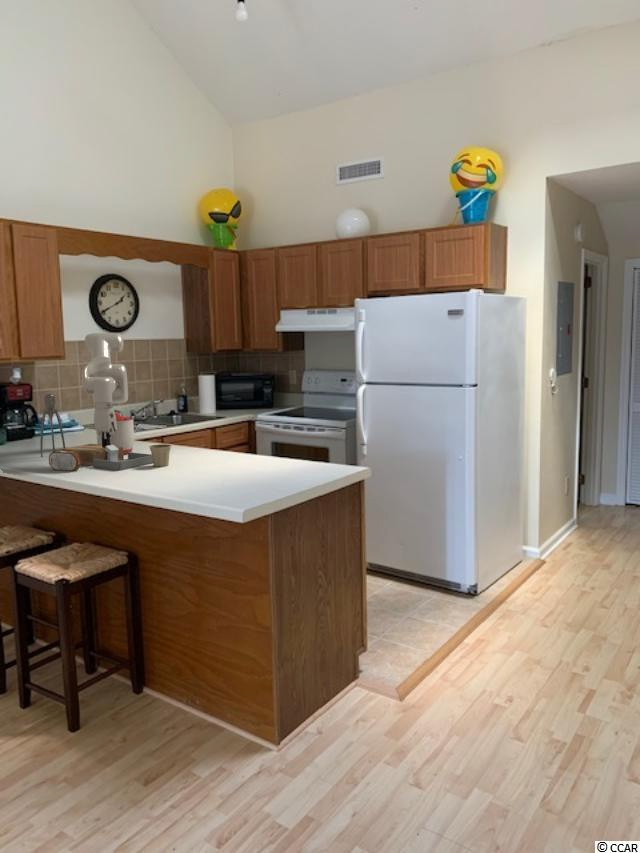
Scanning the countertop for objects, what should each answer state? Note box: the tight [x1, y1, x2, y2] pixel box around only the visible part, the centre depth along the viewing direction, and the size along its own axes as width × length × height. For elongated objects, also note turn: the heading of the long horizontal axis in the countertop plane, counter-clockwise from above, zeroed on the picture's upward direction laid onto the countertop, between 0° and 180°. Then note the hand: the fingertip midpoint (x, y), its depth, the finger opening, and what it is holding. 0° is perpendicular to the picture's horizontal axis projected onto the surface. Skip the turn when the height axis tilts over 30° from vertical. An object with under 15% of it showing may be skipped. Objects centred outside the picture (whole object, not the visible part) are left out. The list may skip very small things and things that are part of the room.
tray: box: [92, 452, 153, 471], centre depth 290 cm, size 20×17×4 cm
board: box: [61, 443, 125, 467], centre depth 302 cm, size 16×22×6 cm
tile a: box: [105, 445, 119, 455], centre depth 294 cm, size 4×4×2 cm
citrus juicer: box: [110, 411, 138, 455], centre depth 320 cm, size 16×17×20 cm
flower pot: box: [148, 443, 172, 468], centre depth 286 cm, size 9×9×9 cm
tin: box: [48, 449, 82, 472], centre depth 281 cm, size 15×3×8 cm, turn 71°
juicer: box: [39, 393, 66, 458], centre depth 313 cm, size 10×11×30 cm
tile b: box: [107, 453, 118, 462], centre depth 295 cm, size 4×4×2 cm
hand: (106, 447), depth 296 cm, fingers closed
